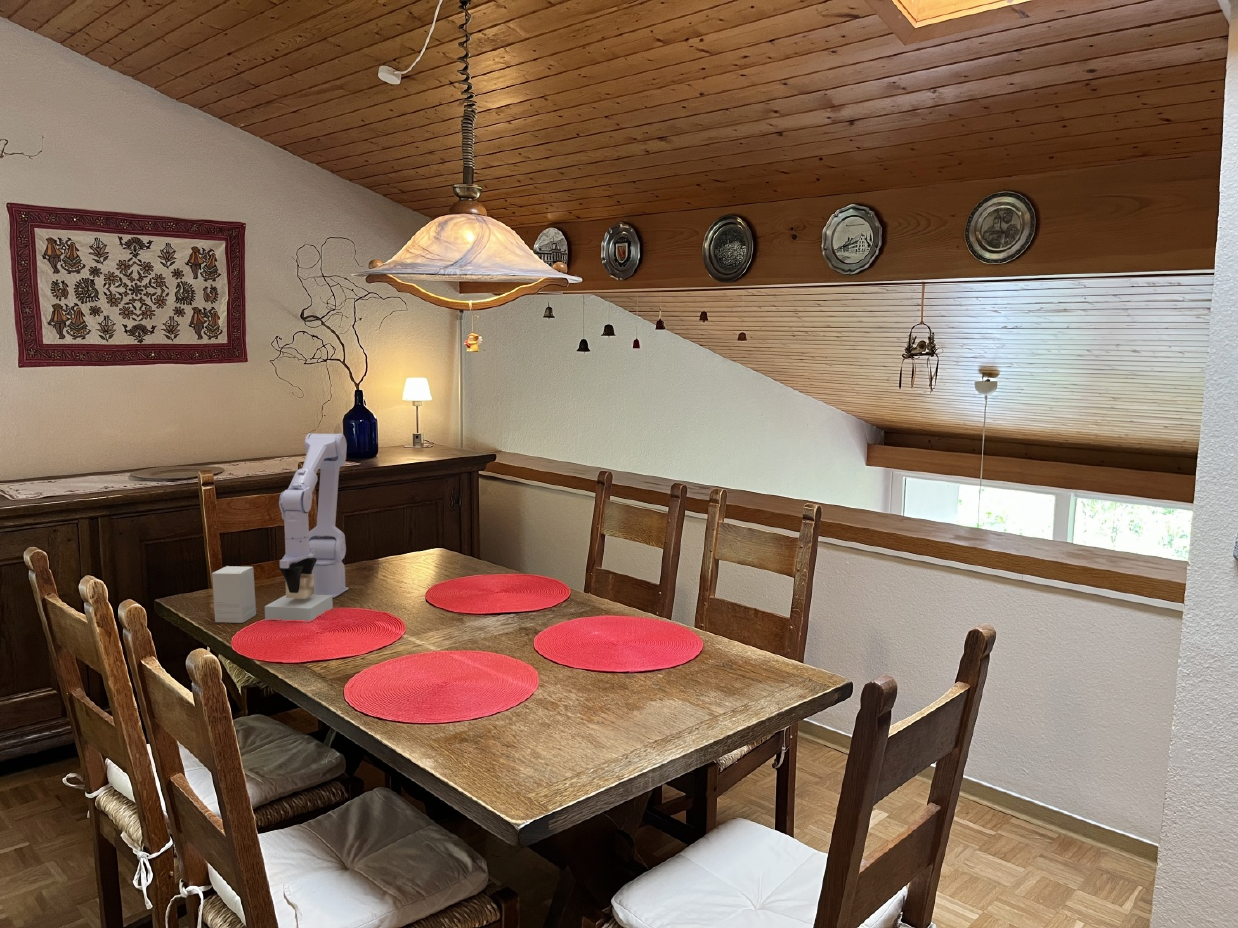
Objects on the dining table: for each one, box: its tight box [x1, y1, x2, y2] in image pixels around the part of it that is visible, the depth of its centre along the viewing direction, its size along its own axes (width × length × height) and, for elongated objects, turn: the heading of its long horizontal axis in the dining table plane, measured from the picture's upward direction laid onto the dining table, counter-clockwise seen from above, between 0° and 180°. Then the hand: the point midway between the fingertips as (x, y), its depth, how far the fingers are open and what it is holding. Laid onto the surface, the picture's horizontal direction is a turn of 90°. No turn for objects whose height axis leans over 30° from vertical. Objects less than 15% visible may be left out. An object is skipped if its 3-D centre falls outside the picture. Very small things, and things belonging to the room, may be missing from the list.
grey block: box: [264, 594, 334, 621], centre depth 232 cm, size 12×12×4 cm
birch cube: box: [284, 574, 314, 599], centre depth 231 cm, size 5×5×5 cm
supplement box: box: [211, 565, 257, 624], centre depth 227 cm, size 7×7×13 cm
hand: (299, 589), depth 231 cm, fingers closed on birch cube, 5 cm apart
